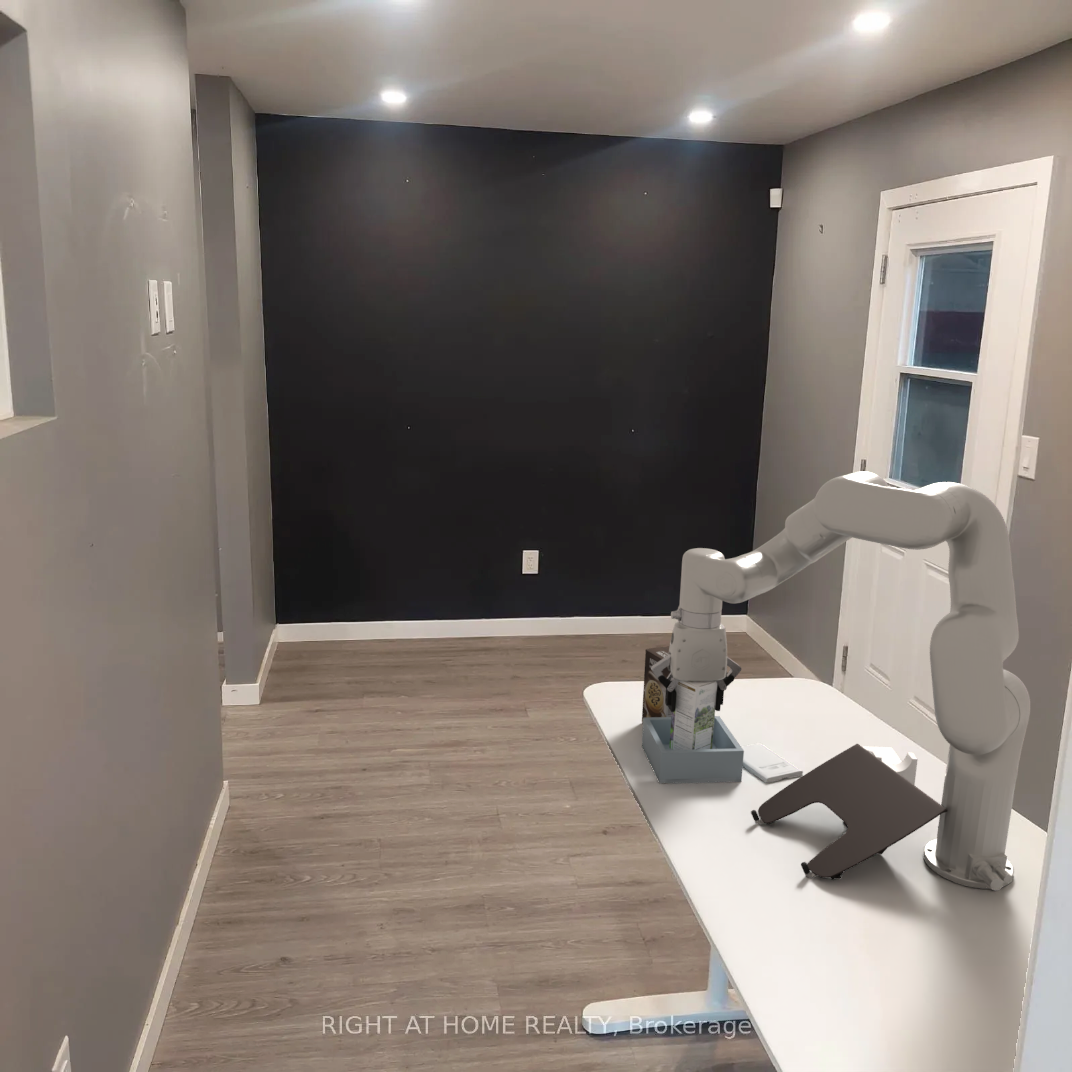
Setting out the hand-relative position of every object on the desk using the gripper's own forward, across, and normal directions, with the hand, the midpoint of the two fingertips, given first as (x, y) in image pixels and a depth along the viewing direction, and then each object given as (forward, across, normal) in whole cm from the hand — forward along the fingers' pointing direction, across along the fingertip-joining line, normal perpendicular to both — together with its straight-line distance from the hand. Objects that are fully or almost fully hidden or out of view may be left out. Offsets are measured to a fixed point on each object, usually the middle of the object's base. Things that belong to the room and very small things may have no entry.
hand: (693, 708), depth 174 cm
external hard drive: (+12, +14, -1) cm, 18 cm away
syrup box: (+9, 0, 0) cm, 9 cm away
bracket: (+12, +34, -8) cm, 36 cm away
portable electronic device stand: (+12, +16, -28) cm, 34 cm away
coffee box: (+11, -1, +15) cm, 19 cm away
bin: (+11, 0, 0) cm, 11 cm away
